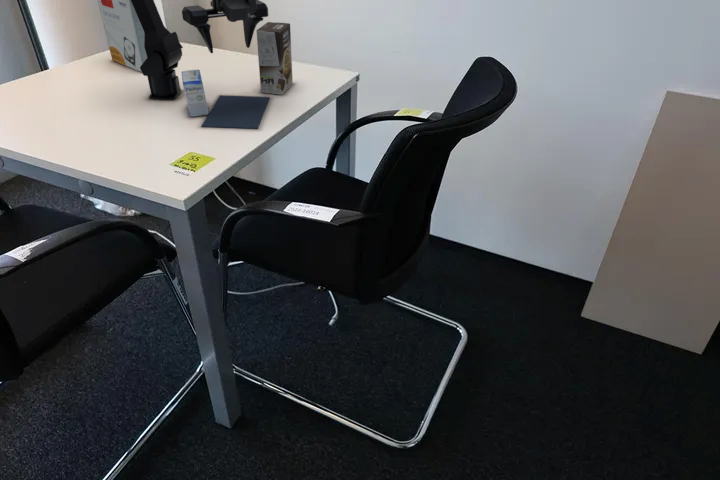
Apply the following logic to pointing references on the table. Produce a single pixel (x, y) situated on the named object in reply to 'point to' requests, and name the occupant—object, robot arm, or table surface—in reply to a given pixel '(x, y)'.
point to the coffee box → (275, 57)
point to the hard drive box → (123, 32)
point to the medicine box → (194, 92)
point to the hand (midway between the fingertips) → (230, 50)
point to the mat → (236, 112)
